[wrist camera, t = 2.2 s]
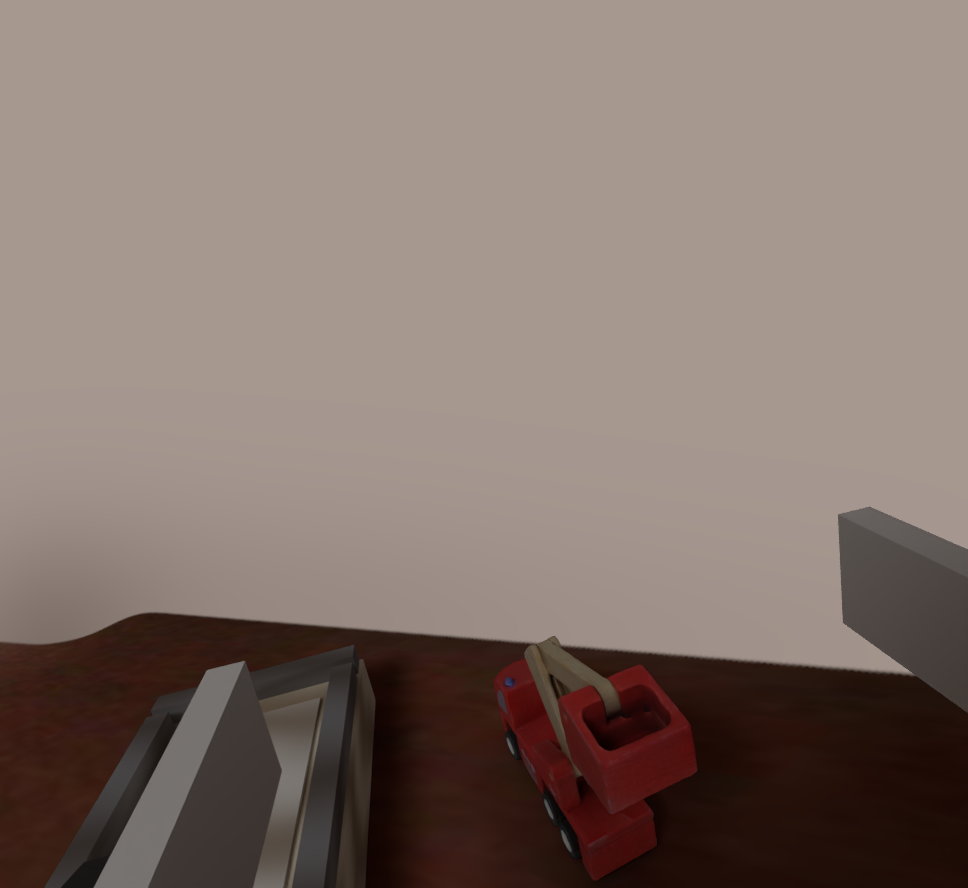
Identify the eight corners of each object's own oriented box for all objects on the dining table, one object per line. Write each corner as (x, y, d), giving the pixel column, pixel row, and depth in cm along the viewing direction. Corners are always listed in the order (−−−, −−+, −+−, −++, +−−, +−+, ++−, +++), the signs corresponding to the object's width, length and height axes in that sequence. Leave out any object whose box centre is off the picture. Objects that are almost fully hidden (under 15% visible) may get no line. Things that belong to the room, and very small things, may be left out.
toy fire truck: (553, 708, 34) (519, 552, 31) (727, 941, 21) (693, 710, 18) (498, 732, 33) (459, 574, 30) (645, 992, 20) (598, 756, 17)
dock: (351, 1125, 18) (312, 1029, 17) (-63, 1263, 17) (-133, 1170, 16) (375, 699, 37) (358, 641, 36) (180, 753, 36) (156, 695, 35)
